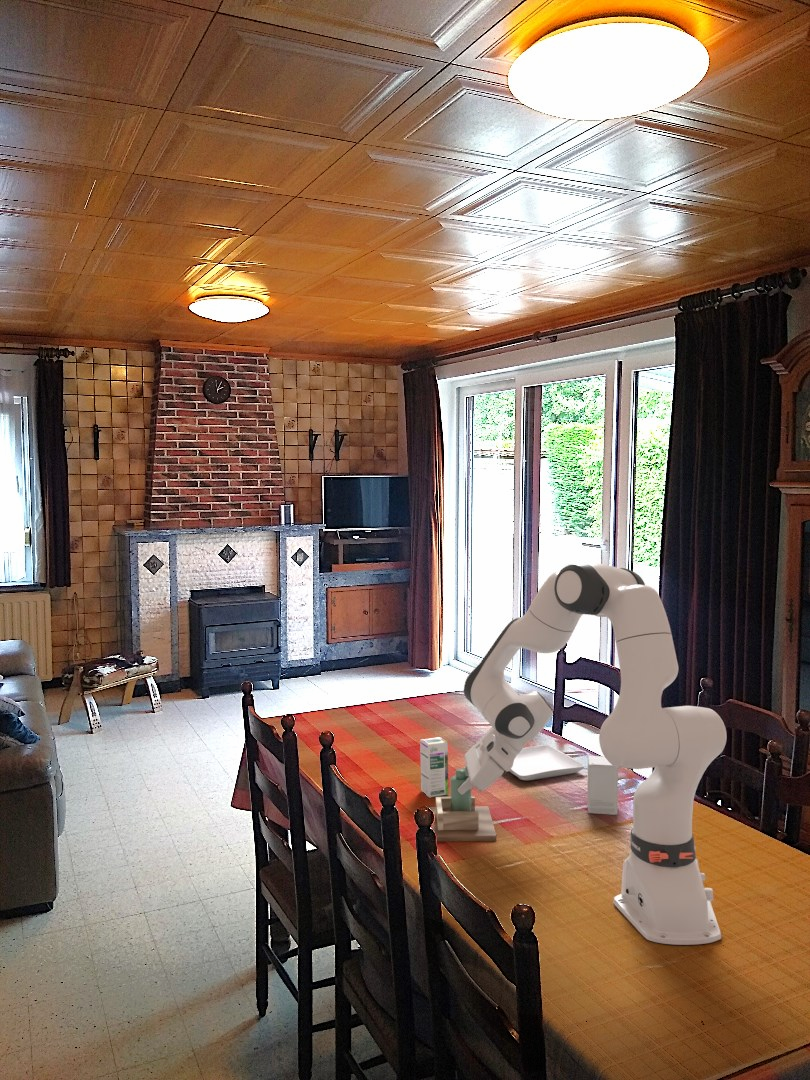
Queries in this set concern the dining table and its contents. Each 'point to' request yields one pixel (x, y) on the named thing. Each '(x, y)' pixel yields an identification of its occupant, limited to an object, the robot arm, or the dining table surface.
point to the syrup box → (434, 766)
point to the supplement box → (602, 786)
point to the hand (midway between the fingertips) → (458, 787)
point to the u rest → (462, 822)
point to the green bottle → (457, 799)
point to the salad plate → (543, 763)
